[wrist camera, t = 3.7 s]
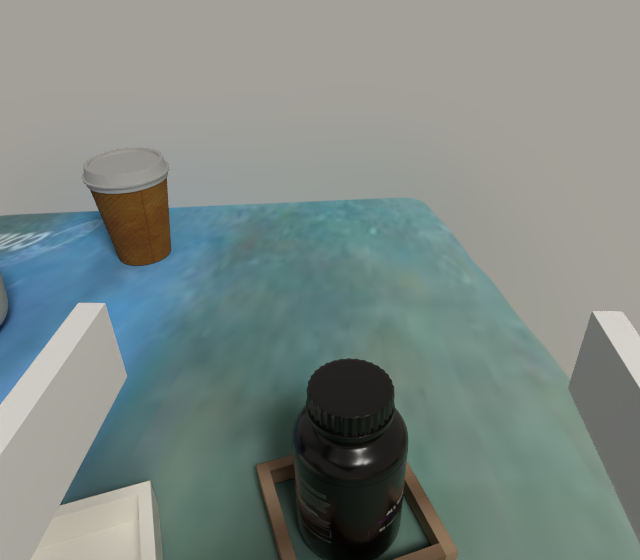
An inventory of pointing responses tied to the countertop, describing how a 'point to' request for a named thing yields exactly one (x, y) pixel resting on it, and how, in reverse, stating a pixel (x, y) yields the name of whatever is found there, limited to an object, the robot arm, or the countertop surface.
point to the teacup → (3, 301)
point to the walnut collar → (442, 548)
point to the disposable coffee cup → (132, 202)
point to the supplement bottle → (349, 462)
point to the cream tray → (105, 528)
